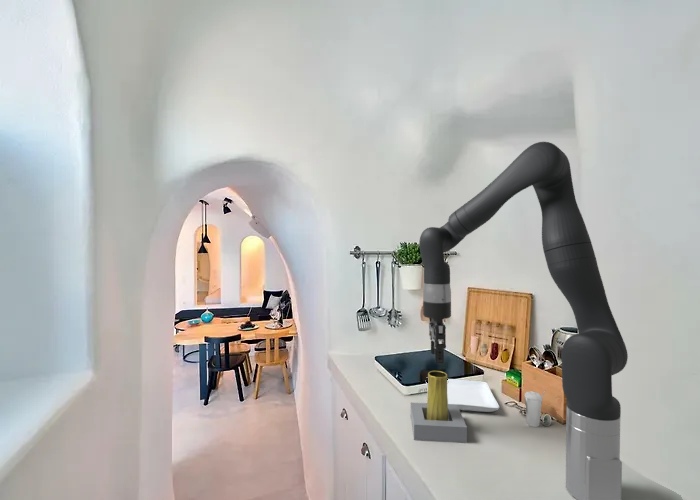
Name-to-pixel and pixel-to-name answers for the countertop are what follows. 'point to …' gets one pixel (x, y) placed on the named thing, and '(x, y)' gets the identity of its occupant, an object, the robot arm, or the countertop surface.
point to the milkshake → (533, 408)
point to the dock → (438, 425)
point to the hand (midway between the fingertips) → (436, 358)
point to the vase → (437, 396)
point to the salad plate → (470, 395)
